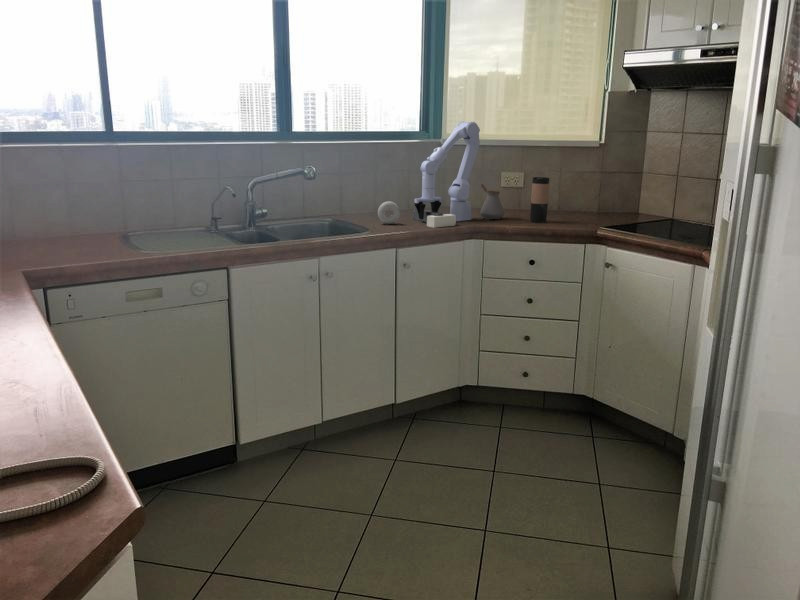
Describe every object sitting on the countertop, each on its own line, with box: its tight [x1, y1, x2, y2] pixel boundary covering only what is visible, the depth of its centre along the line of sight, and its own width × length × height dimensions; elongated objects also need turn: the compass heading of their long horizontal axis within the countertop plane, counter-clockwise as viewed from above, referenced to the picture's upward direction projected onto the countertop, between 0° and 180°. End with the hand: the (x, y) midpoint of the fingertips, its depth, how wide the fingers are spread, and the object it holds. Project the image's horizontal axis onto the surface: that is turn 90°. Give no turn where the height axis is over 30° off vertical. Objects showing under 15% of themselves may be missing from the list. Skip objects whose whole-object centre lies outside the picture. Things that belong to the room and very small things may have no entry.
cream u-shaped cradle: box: [426, 213, 457, 229], centre depth 289 cm, size 12×5×4 cm, turn 129°
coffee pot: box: [478, 183, 505, 220], centre depth 317 cm, size 21×12×15 cm, turn 14°
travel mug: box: [529, 176, 550, 224], centre depth 304 cm, size 8×8×20 cm
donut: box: [377, 200, 401, 225], centre depth 291 cm, size 10×4×10 cm, turn 105°
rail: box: [412, 208, 444, 223], centre depth 302 cm, size 4×16×5 cm, turn 39°
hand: (427, 218), depth 302 cm, fingers open, 7 cm apart
